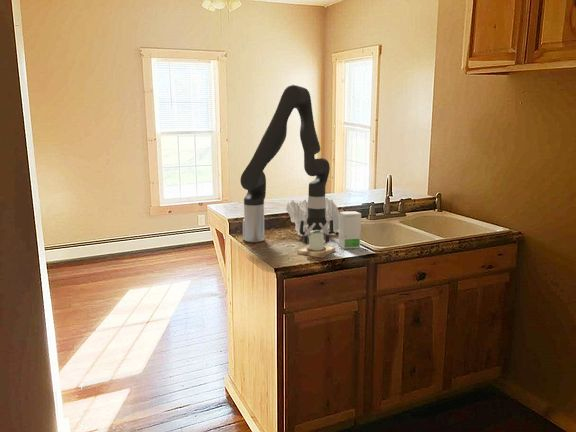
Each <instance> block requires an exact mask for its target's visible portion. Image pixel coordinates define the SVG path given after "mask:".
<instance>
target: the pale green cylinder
mask: <svg viewBox="0 0 576 432" xmlns="http://www.w3.org/2000/svg"><path fill="white" fill-rule="evenodd" d="M324 243H325V234H324V233H323V232H322V231H321V230H317V231H310V232H309V234H308V244H309V249H311V250H322V249H324V246H325V245H324Z"/></svg>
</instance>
